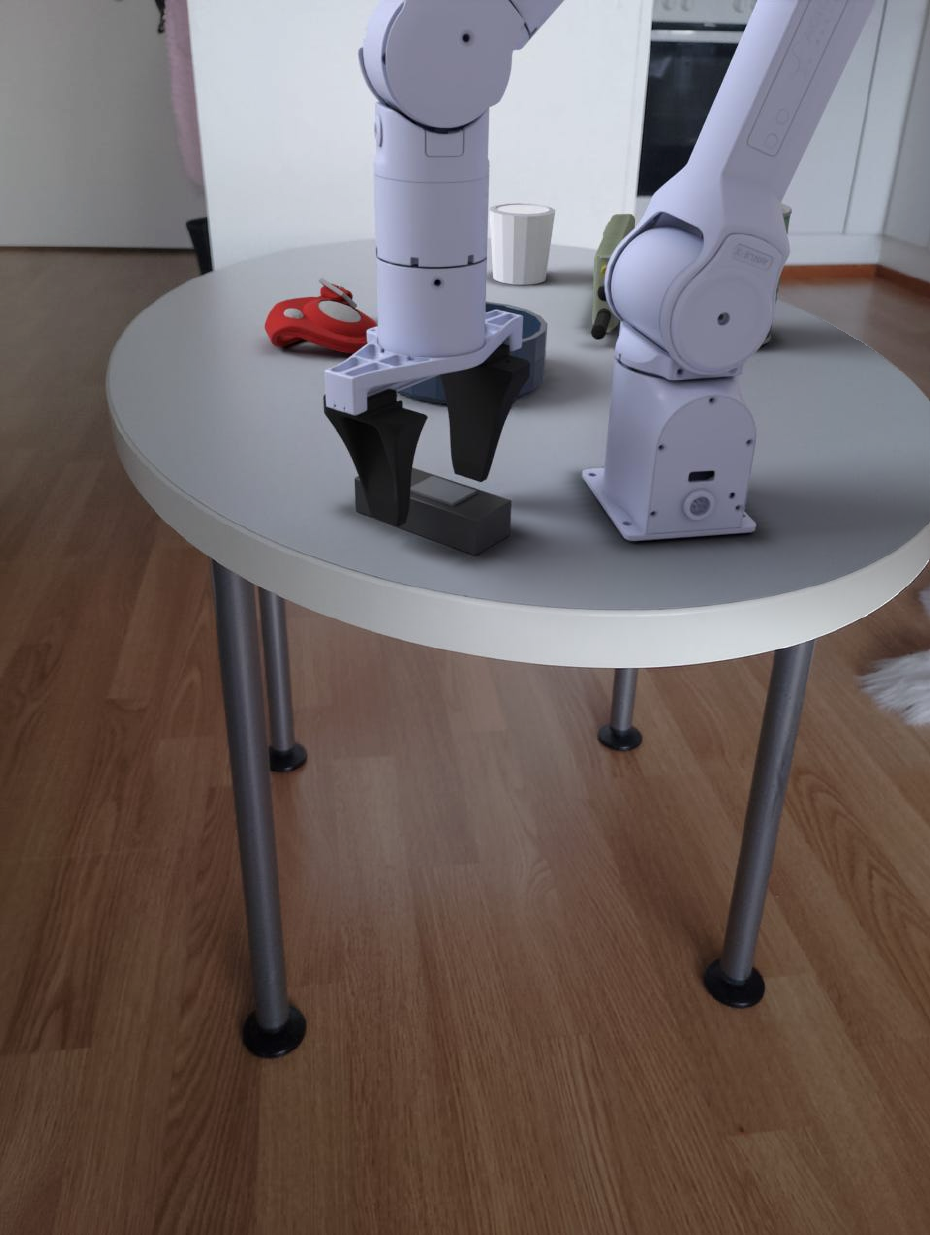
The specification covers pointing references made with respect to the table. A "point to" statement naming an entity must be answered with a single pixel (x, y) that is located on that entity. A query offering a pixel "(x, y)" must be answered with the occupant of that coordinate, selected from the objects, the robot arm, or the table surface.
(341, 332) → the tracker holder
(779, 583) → the table surface
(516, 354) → the bowl
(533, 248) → the white cup
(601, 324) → the handheld radio
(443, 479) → the remote
